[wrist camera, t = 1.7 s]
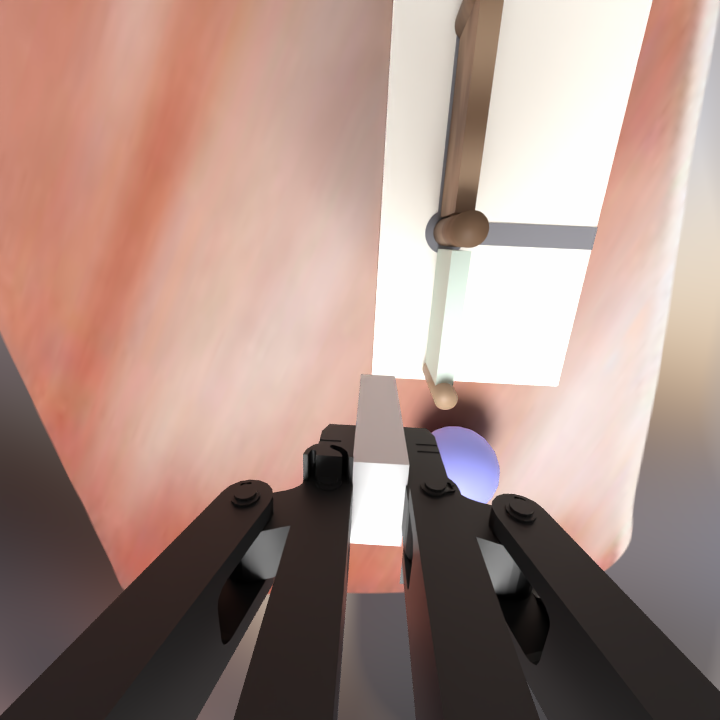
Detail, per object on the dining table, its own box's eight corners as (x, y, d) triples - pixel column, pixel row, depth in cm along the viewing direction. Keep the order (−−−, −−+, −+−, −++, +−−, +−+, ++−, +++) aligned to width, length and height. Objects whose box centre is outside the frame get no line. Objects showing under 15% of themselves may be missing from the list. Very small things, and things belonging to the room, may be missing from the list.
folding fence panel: (435, 248, 26) (452, 250, 20) (456, 249, 26) (479, 251, 20) (421, 376, 30) (432, 409, 24) (440, 378, 30) (456, 410, 24)
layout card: (393, -4, 22) (394, -10, 22) (647, 3, 22) (653, -2, 21) (371, 374, 31) (371, 377, 30) (555, 384, 30) (558, 386, 30)
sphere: (394, 446, 33) (399, 497, 26) (448, 397, 31) (469, 439, 24) (445, 488, 34) (462, 547, 28) (500, 444, 32) (533, 496, 26)
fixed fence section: (456, 3, 22) (493, -100, 15) (488, 4, 22) (539, -99, 15) (431, 245, 27) (451, 247, 20) (458, 246, 27) (486, 248, 20)
